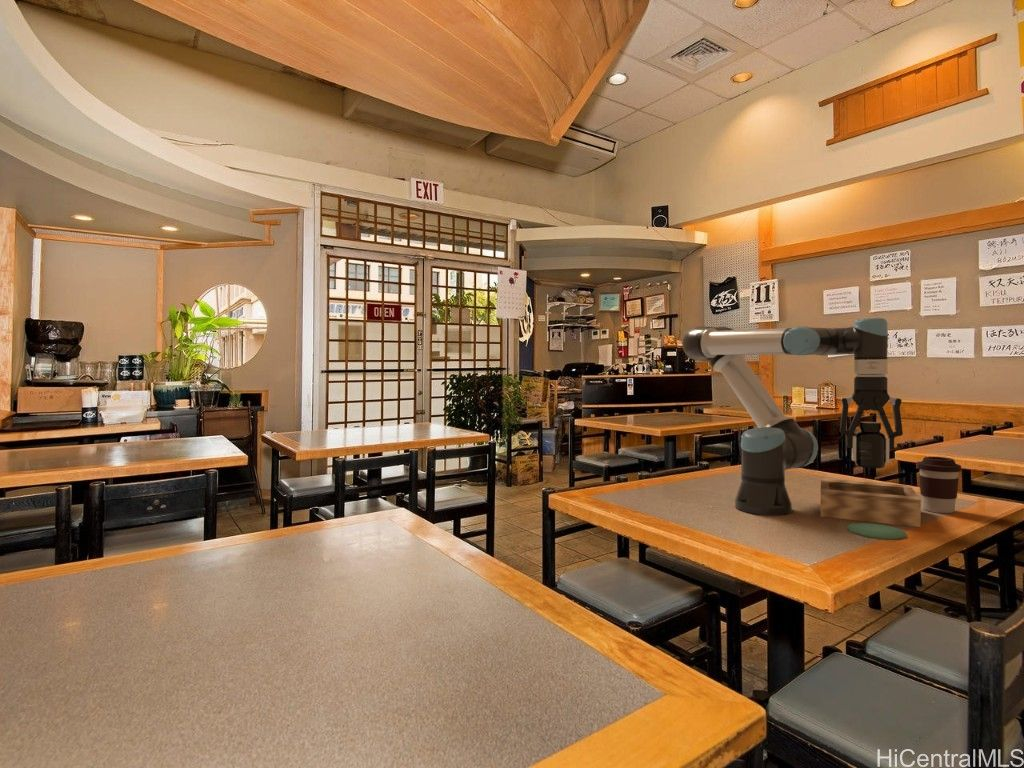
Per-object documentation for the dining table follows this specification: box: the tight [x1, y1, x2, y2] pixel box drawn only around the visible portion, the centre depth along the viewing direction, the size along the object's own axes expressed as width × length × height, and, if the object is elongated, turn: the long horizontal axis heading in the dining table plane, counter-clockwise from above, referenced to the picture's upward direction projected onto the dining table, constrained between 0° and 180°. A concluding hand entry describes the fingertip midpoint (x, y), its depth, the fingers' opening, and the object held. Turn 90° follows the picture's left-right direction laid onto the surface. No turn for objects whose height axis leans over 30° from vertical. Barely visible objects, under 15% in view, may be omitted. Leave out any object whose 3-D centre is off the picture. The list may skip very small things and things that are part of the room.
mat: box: [847, 522, 907, 541], centre depth 137 cm, size 12×12×1 cm
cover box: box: [820, 478, 922, 528], centre depth 154 cm, size 22×19×7 cm
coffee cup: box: [916, 456, 962, 514], centre depth 156 cm, size 10×10×15 cm
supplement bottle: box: [854, 421, 886, 469], centre depth 147 cm, size 7×7×12 cm
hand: (870, 460), depth 147 cm, fingers closed on supplement bottle, 7 cm apart
